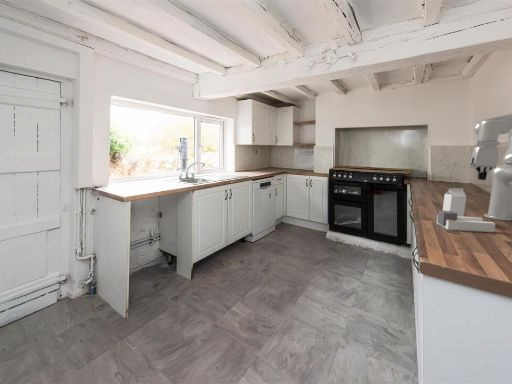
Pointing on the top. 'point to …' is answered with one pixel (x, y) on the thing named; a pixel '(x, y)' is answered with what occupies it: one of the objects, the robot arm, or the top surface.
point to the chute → (469, 224)
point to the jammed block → (446, 216)
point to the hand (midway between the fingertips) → (481, 179)
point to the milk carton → (455, 201)
